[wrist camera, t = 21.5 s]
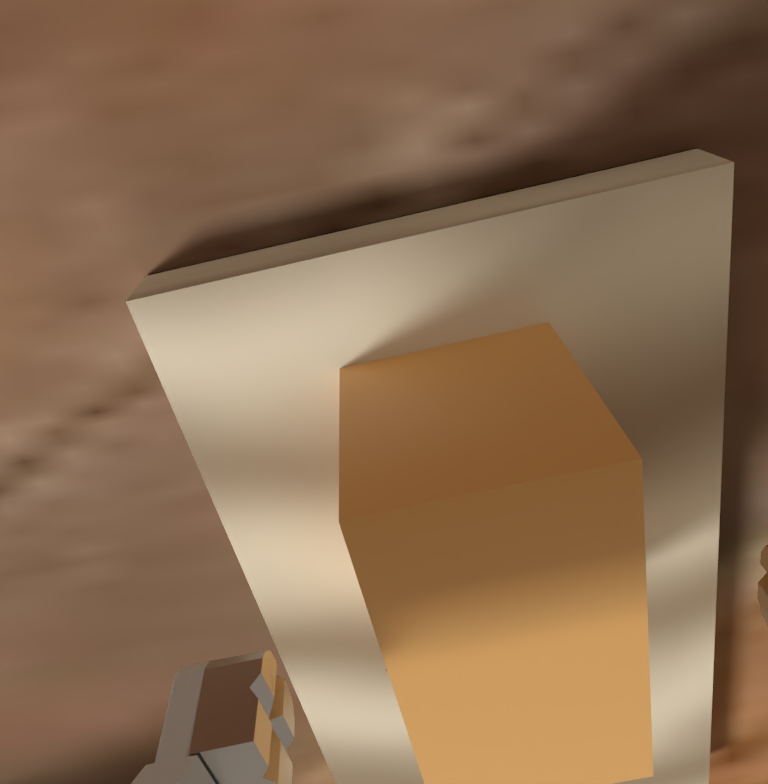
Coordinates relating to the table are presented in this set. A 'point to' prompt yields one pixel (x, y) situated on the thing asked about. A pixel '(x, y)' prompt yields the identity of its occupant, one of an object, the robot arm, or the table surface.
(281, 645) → the birch board
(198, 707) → the robot arm
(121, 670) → the table surface
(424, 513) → the block
